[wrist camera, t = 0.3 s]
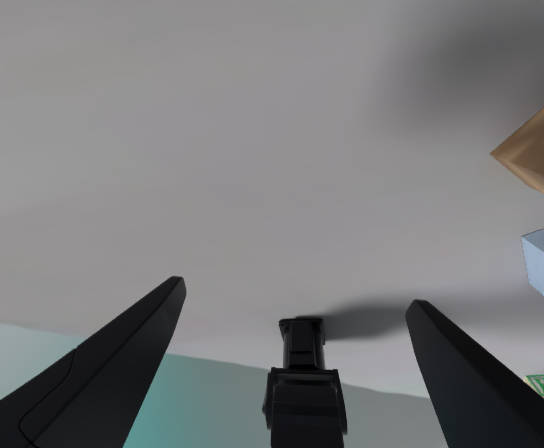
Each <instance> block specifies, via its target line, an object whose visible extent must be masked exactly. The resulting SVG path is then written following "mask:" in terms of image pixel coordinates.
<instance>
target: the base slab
mask: <svg viewBox="0 0 544 448" xmlns="http://www.w3.org/2000/svg"><path fill="white" fill-rule="evenodd" d="M522 243H523V249H524V255H525V261H526V267H527V273H528V279H529V284H531V285H532V286H533V287H534V288H535V289H536V290H537V291H539V292H540V293H541V294H542V295H543V296H544V229H542V230H539V231H536V232H533V233H530V234H527V235H524V236H522Z"/></svg>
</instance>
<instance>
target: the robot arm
mask: <svg viewBox="0 0 544 448" xmlns="http://www.w3.org/2000/svg"><path fill="white" fill-rule="evenodd" d="M185 297H186V287H185V282H184V279H183V277H179V276H172V277H170V278H169V279H167V280H166V281H165V282H163V283H162V284H160V285H159V286H158V287H156V288H155V289H154V290H152V291H151V292H150V293H148V294H147V295H146V296H144V297H143V298H142V299H140V300H139V301H138V302H136V303H135V304H134V305H132V306H131V307H130V308H128V309H127V310H125V311H124V312H123V313H121V314H120V315H119V316H117V317H116V318H115V319H113V320H112V321H111V322H109V323H108V324H107V325H105V326H104V327H103V328H101V329H100V330H99V331H97V332H96V333H94V334H93V335H92V336H90V337H89V338H88V339H86V340H85V341H84V342H82V343H81V344H80V345H78V346H77V348H76V349H73V350H71V351H70V352H69V353H67V354H66V355H65V356H63V357H62V358H61V359H59V360H58V361H56V362H55V363H54V364H52V365H51V366H50V367H48V368H47V369H45V370H44V371H43V372H41V373H40V374H38V375H37V376H35V377H34V378H32V379H31V380H30V381H28V382H27V383H25V384H24V385H22V386H21V387H19V388H18V389H16V390H15V391H13V392H12V393H10V394H9V395H7V396H6V397H4V398H3V399H1V400H0V448H123V446H124V443H125V441H126V438H127V437H128V434H129V432H130V430H131V428H132V425H133V423H134V421H135V419H136V417H137V414H138V412H139V410H140V408H141V405H142V403H143V401H144V399H145V396H146V394H147V392H148V390H149V387H150V385H151V383H152V381H153V379H154V376H155V374H156V372H157V370H158V367H159V365H160V363H161V361H162V358H163V356H164V354H165V352H166V349H167V347H168V345H169V343H170V341H171V338H172V336H173V333H174V331H175V328H176V325H177V322H178V319H179V316H180V313H181V309H182V306H183V303H184V300H185ZM405 317H406V322H407V326H408V329H409V333H410V337H411V341H412V345H413V349H414V353H415V356H416V359H417V362H418V365H419V368H420V371H421V374H422V376H423V379H424V382H425V385H426V387H427V390H428V393H429V395H430V398H431V401H432V404H433V406H434V409H435V412H436V415H437V417H438V420H439V423H440V425H441V428H442V431H443V433H444V436H445V439H446V442H447V445H448V447H449V448H544V398H543V397H542V396H541V395H540V394H538V393H537V392H536V391H535V390H534V389H532V388H531V387H530V386H529V385H528V384H526V383H525V382H524V381H523V380H522V379H520V378H519V377H518V376H517V375H516V374H514V373H513V372H512V371H511V370H510V369H508V368H507V367H506V366H505V365H504V364H502V363H501V362H500V361H499V360H498V359H496V358H495V357H494V356H493V355H492V354H490V353H489V352H488V351H487V350H486V349H484V348H483V347H482V346H481V345H480V344H478V343H477V342H476V341H475V340H474V339H472V338H471V337H470V336H469V335H468V334H466V333H465V332H464V331H463V330H462V329H460V328H459V327H458V326H457V325H456V324H454V323H453V322H452V321H451V320H450V319H448V318H447V317H446V316H445V315H444V314H442V313H441V312H440V311H439V310H438V309H436V308H435V307H434V306H433V305H432V304H430V303H429V302H428V301H426V300H418V299H415V300H413V301H412V303H411V305H410V306H409V308H408V310H407V311H406V315H405ZM279 327H280V331H281V334H282V338H283V341H284V352H283V368H276V367H271V372H270V373H268V379H267V389H266V393H265V398H264V403H263V407H262V412H263V414H264V415H265V417H266V422H267V430H271V448H344V443H343V435H347V418H346V411H345V404H344V399H343V394H342V389H341V384H340V379H339V374H338V370H337V369H333V370H326V369H325V360H324V351H323V345H325V336H324V326H323V320H322V319H305V320H281V321H279Z"/></svg>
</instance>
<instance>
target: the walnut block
mask: <svg viewBox="0 0 544 448" xmlns="http://www.w3.org/2000/svg"><path fill="white" fill-rule="evenodd" d="M490 155H491V156H493V157H494V158H495V159H496V160H497V161H499V162H500V163H501V164H502V165H504V166H505V167H506V168H507V169H508V170H510V171H511V172H512V173H513V174H514V175H516V176H517V177H518V178H519V179H520V180H522V181H523V182H524V183H525V184H526V185H528V186H529V187H531V188H533V189H535V190H537V191H539V192H541V193H543V194H544V108H543V109H542V110H540V111H539V112H538V113H537V114H536V115H535V116H533V117H532V118H531V119H530V120H529V121H527V122H526V123H525V124H524V125H523V126H522V127H520V128H519V129H518V130H517V131H516V132H515V133H513V134H512V135H511V136H510V137H509V138H508V139H506V140H505V141H504V142H503V143H502V144H501V145H499V146H498V147H497V148H496V149H495V150H493V151H492V152H491V153H490Z"/></svg>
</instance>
